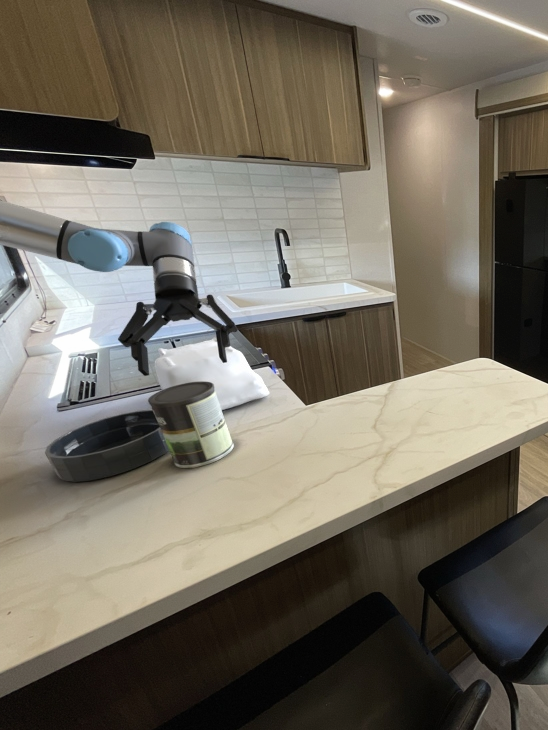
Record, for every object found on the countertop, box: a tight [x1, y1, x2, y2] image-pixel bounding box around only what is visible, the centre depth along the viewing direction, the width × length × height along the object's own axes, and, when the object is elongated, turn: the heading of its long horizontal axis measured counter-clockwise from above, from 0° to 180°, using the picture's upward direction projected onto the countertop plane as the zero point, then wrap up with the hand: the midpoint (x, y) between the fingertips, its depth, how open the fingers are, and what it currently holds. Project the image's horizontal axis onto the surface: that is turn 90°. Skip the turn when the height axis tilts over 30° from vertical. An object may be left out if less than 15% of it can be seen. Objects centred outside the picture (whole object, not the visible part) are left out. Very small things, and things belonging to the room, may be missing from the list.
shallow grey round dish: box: [44, 409, 170, 483], centre depth 83 cm, size 19×19×6 cm
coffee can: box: [147, 382, 235, 469], centre depth 80 cm, size 10×10×14 cm
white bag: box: [154, 336, 270, 411], centre depth 107 cm, size 19×30×13 cm, turn 48°
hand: (184, 366), depth 83 cm, fingers open, 13 cm apart
